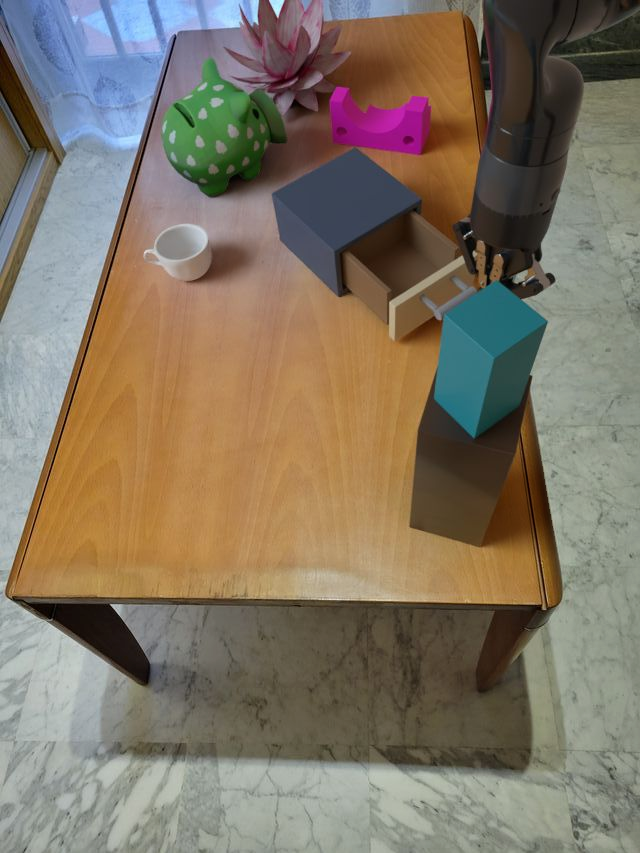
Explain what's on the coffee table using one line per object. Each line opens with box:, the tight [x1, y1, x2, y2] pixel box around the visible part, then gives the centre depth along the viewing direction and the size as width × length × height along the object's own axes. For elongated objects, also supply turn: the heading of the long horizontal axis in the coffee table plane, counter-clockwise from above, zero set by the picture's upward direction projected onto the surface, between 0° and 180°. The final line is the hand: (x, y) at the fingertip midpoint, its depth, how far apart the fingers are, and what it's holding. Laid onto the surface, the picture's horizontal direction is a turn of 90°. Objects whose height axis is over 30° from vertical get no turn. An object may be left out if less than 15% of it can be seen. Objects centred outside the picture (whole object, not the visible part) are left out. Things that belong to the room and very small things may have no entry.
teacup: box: [143, 223, 213, 282], centre depth 92 cm, size 10×8×5 cm
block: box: [434, 280, 549, 438], centre depth 49 cm, size 5×5×11 cm
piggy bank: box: [160, 57, 288, 198], centre depth 99 cm, size 14×18×15 cm
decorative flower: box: [223, 0, 352, 117], centre depth 108 cm, size 21×21×15 cm
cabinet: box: [271, 146, 423, 298], centre depth 91 cm, size 15×15×9 cm
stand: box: [408, 365, 533, 548], centre depth 63 cm, size 8×8×22 cm
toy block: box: [329, 86, 432, 156], centre depth 103 cm, size 15×6×8 cm, turn 71°
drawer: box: [340, 210, 479, 343], centre depth 84 cm, size 18×14×7 cm
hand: (489, 308), depth 73 cm, fingers closed
